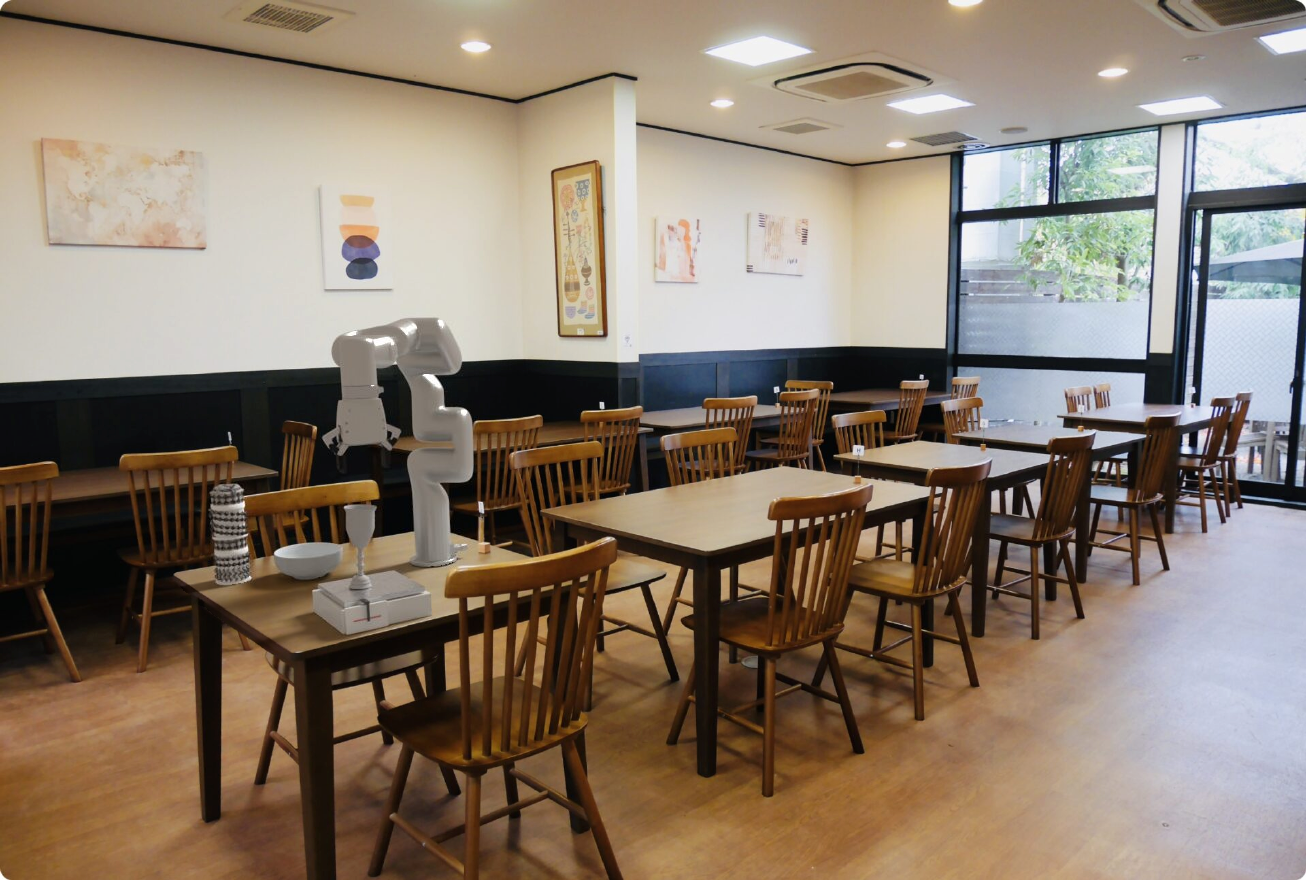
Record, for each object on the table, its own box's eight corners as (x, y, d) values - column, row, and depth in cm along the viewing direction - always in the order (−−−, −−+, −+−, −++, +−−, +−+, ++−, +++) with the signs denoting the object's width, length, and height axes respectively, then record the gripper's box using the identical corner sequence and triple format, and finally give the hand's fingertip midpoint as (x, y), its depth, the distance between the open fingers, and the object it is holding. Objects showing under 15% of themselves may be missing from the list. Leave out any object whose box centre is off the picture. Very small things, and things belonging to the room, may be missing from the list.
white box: (395, 594, 222) (393, 570, 222) (431, 615, 206) (429, 589, 205) (319, 609, 212) (317, 583, 211) (350, 632, 195) (349, 605, 194)
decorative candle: (207, 581, 239) (199, 485, 235) (243, 573, 245) (236, 480, 242) (223, 587, 232) (215, 489, 229) (259, 579, 239) (252, 484, 236)
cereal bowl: (298, 588, 231) (296, 560, 230) (262, 578, 241) (260, 551, 240) (357, 573, 244) (355, 547, 244) (320, 564, 254) (318, 538, 254)
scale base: (397, 594, 224) (396, 572, 223) (433, 616, 207) (432, 591, 207) (313, 611, 212) (312, 587, 211) (345, 635, 195) (343, 609, 195)
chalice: (383, 584, 210) (383, 506, 209) (364, 591, 204) (364, 510, 202) (356, 581, 213) (356, 503, 211) (337, 587, 206) (336, 507, 205)
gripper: (391, 389, 212) (395, 463, 214) (314, 395, 202) (320, 472, 204) (404, 391, 206) (408, 467, 208) (326, 397, 196) (331, 476, 198)
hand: (364, 469), depth 206 cm, fingers open, 9 cm apart
